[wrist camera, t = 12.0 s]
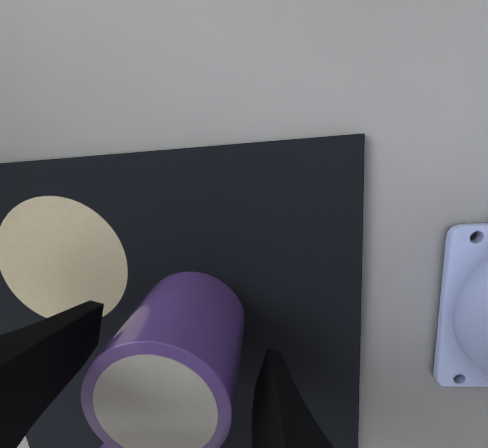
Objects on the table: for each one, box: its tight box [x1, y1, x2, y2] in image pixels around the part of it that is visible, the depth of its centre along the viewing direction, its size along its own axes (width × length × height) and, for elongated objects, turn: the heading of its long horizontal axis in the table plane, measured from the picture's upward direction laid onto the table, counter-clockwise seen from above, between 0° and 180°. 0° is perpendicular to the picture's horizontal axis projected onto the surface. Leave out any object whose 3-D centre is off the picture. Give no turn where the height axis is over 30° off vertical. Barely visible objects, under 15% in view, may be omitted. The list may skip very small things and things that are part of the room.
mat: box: [0, 134, 365, 448], centre depth 16 cm, size 19×28×1 cm
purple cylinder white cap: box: [81, 272, 245, 448], centre depth 12 cm, size 5×5×5 cm
